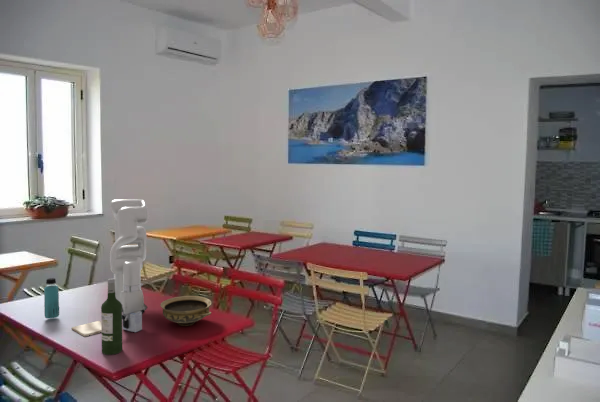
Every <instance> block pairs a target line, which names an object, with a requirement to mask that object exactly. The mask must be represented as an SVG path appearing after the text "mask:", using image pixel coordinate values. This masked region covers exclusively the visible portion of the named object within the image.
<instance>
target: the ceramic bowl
mask: <svg viewBox="0 0 600 402" xmlns="http://www.w3.org/2000/svg"><path fill="white" fill-rule="evenodd" d="M159 305H160V307H161V308H162V315H163V317H164V318H165V319H166V320H168V321H170V322H173V323H177V325H178V326H181V327H182V326H185V327H187V326H192V325H194V324H195V323H196V322H198V321H200V320H202V319H204V318H205V317H206V316H207V317H208V316H211V315H212V312H211V311H210V306H211V305H212V301H211V299H209V298H207V297H204V296H198V295H183V296H175V297H171V298H168V299H165V300H163V301H161V303H160V304H159Z"/></svg>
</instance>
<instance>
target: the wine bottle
mask: <svg viewBox="0 0 600 402" xmlns="http://www.w3.org/2000/svg"><path fill="white" fill-rule="evenodd" d="M100 309H101V310H100V311H101V312H100V313H101V316H100V318H101V319H100V321H101V329H102V332H101V353H102V354H103V355H107V356H112V355H116V354H120V353H121V352H122V351H123V321H122V304H121V302H120V301H118V300H117V299H116V297H115V279H114V277H111V278H108V279H107V298H106V300H105V301H104V302H103V303H102V304H101V306H100Z"/></svg>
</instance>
